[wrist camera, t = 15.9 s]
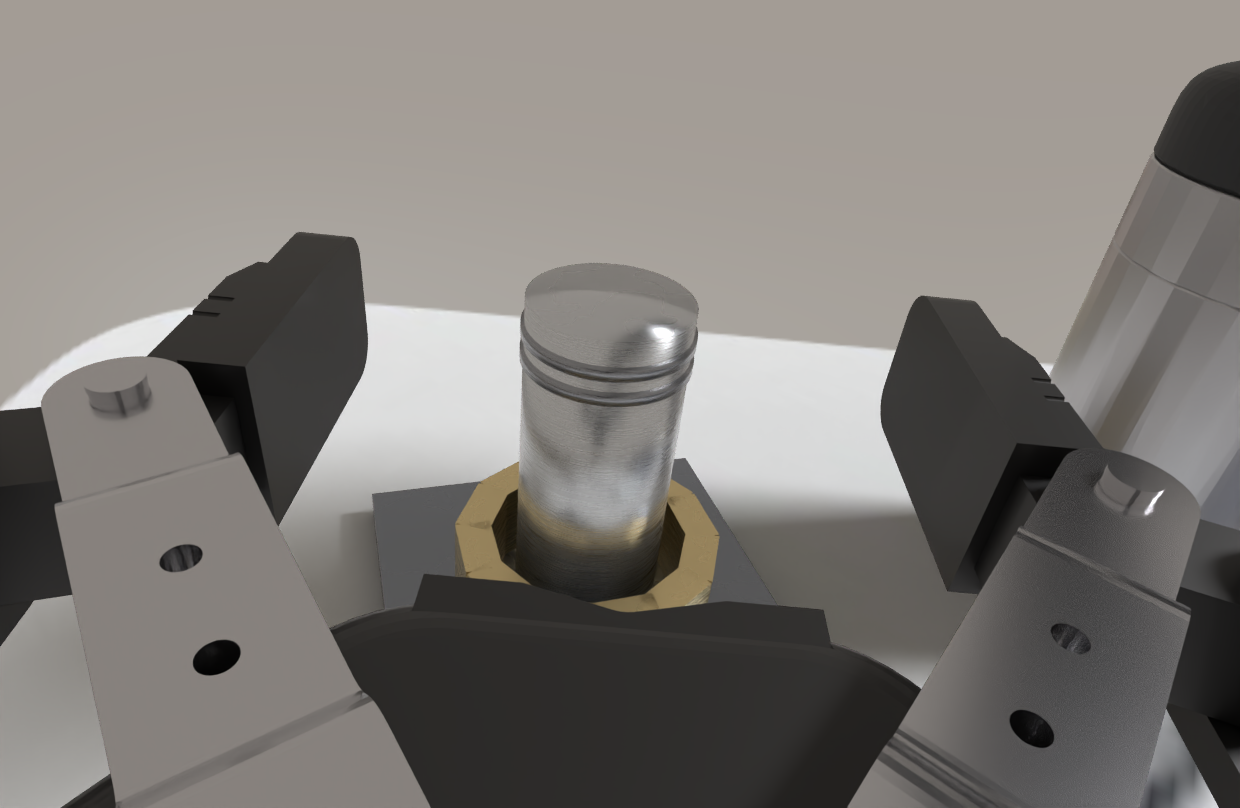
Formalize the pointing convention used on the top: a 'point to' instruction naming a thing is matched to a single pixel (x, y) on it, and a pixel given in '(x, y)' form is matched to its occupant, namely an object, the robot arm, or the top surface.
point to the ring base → (435, 541)
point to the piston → (599, 425)
